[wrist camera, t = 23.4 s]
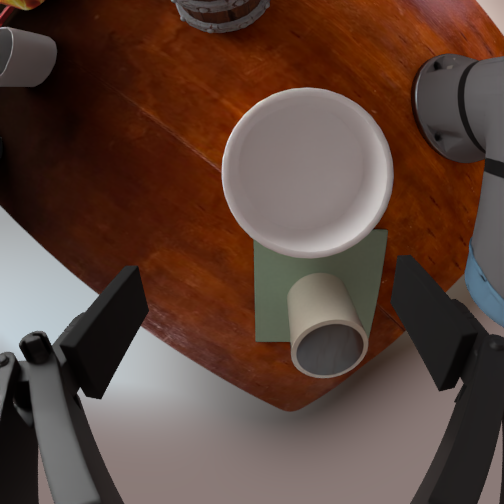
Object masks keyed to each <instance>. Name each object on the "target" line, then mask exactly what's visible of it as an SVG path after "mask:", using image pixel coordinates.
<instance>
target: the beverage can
mask: <svg viewBox="0 0 504 504" xmlns="http://www.w3.org/2000/svg"><path fill="white" fill-rule="evenodd" d="M2 151H3V144H2V139H1V137H0V159H1V157H2Z"/></svg>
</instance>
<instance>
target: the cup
mask: <svg viewBox="0 0 504 504" xmlns="http://www.w3.org/2000/svg"><path fill="white" fill-rule="evenodd" d="M56 55H57V48H56V44H55V42H54V41H53V40H52V39H51V38H50V37H48V36H44V35H40V34H36V33H32V32H28V31H23V30H19V29H14V28H9V27H3V28H0V86H13V87H35V86H37V85H39V84H41V83H42V82H43V81H44V80H45V79H46V78H47V77H48V76H49V75H50V73H51V71H52V69H53V66H54V64H55V61H56Z"/></svg>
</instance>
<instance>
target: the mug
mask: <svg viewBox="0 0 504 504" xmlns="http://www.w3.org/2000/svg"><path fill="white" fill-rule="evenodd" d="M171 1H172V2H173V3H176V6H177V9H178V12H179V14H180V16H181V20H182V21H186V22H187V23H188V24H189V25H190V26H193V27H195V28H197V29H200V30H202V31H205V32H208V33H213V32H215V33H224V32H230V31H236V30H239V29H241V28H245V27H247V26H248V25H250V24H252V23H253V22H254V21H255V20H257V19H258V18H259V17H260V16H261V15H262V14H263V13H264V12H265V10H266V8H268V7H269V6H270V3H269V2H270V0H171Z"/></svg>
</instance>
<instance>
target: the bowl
mask: <svg viewBox="0 0 504 504" xmlns="http://www.w3.org/2000/svg"><path fill="white" fill-rule="evenodd" d="M393 178H394V174H393V160H392V156H391V152H390V149H389V145H388V142H387V140H386V138H385V136H384V134H383V132H382V130H381V128H380V127H379V126H378V124H377V123H376V122H375V120H374V119H373V118H372V117H371V115H370V114H369V113H367V112H366V111H365V110H364V109H363V108H362V107H361V106H359V105H358V104H357V103H355V102H354V101H352V100H350V99H348V98H347V97H345V96H343V95H341V94H338V93H335V92H332V91H329V90H325V89H317V88H296V89H289V90H285V91H282V92H279V93H276V94H273V95H271V96H269V97H267V98H265V99H264V100H262V101H260V102H258V103H257V104H256V105H255V106H253V107H252V108H251V109H250V110H249V111H248V112H246V113H245V114H244V116H243V117H242V118H241V119H240V121H239V122H238V123H237V125H236V126H235V127H234V129H233V131H232V133H231V135H230V137H229V139H228V142H227V144H226V147H225V152H224V156H223V160H222V183H223V189H224V195H225V198H226V200H227V203H228V205H229V208H230V211H231V212H232V214H233V215H234V217H235V219H236V220H237V222H238V223H239V225H240V226H241V227H242V228H243V229H244V230H245V231H246V232H247V233H248V234H249V236H250V237H252V238H253V239H254V240H256V241H257V242H258V243H260V244H261V245H263V246H264V247H266V248H268V249H270V250H273V251H275V252H277V253H279V254H283V255H287V256H291V257H295V258H309V259H312V258H320V257H328V256H331V255H334V254H337V253H340V252H343V251H345V250H347V249H348V248H350V247H352V246H354V245H356V244H357V243H358V242H360V241H361V240H362V239H363V238H364V237H366V236H367V235H368V234H369V233H370V232H371V231H372V229H373V228H374V227H375V226H376V225H377V224H378V222H379V221H380V219H381V217H382V215H383V214H384V212H385V210H386V208H387V205H388V202H389V199H390V196H391V193H392V186H393Z"/></svg>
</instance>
